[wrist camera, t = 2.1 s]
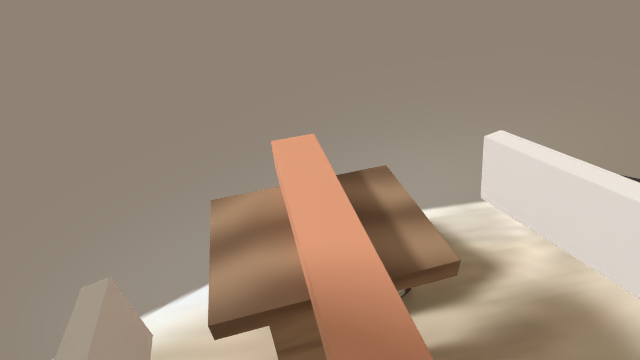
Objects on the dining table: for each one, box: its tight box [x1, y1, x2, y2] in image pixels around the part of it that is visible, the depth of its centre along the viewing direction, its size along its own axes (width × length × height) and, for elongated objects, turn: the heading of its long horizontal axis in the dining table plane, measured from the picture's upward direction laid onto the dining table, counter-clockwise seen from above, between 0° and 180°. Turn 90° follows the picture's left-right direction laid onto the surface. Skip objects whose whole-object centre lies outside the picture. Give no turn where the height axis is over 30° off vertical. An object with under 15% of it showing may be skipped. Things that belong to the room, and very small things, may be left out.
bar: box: [271, 134, 433, 360], centre depth 22 cm, size 24×4×3 cm, turn 14°
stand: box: [208, 165, 461, 360], centre depth 34 cm, size 12×16×30 cm
